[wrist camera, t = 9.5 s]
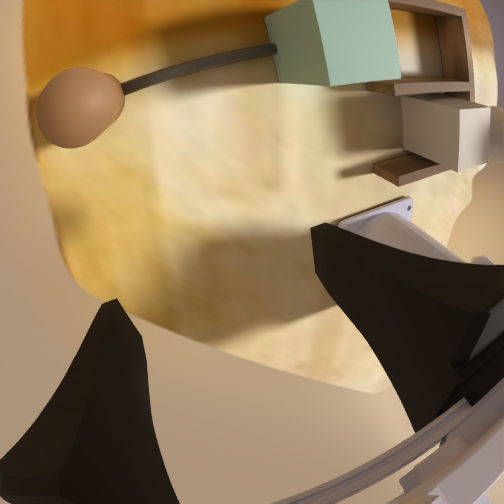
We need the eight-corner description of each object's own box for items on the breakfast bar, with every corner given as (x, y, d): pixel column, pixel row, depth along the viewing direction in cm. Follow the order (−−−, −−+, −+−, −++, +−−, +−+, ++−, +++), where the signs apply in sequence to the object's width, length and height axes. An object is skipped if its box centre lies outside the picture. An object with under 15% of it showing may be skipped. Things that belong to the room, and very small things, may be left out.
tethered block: (339, 73, 17) (401, 78, 12) (82, 147, 15) (54, 176, 10) (327, 12, 15) (387, -1, 10) (59, 80, 13) (19, 80, 8)
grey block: (436, 140, 22) (487, 162, 18) (402, 148, 22) (457, 172, 17) (434, 92, 20) (490, 107, 15) (399, 95, 19) (459, 109, 14)
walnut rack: (449, 151, 24) (473, 162, 21) (373, 173, 22) (398, 186, 20) (438, 9, 16) (465, 9, 13) (350, -4, 14) (377, -11, 12)
